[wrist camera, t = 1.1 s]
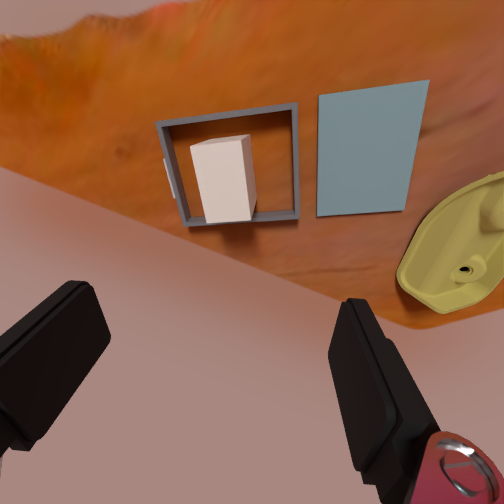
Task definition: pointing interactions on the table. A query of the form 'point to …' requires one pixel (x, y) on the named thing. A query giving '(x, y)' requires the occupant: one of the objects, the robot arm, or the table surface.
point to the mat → (367, 147)
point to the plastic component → (458, 248)
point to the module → (226, 178)
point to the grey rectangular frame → (163, 125)
